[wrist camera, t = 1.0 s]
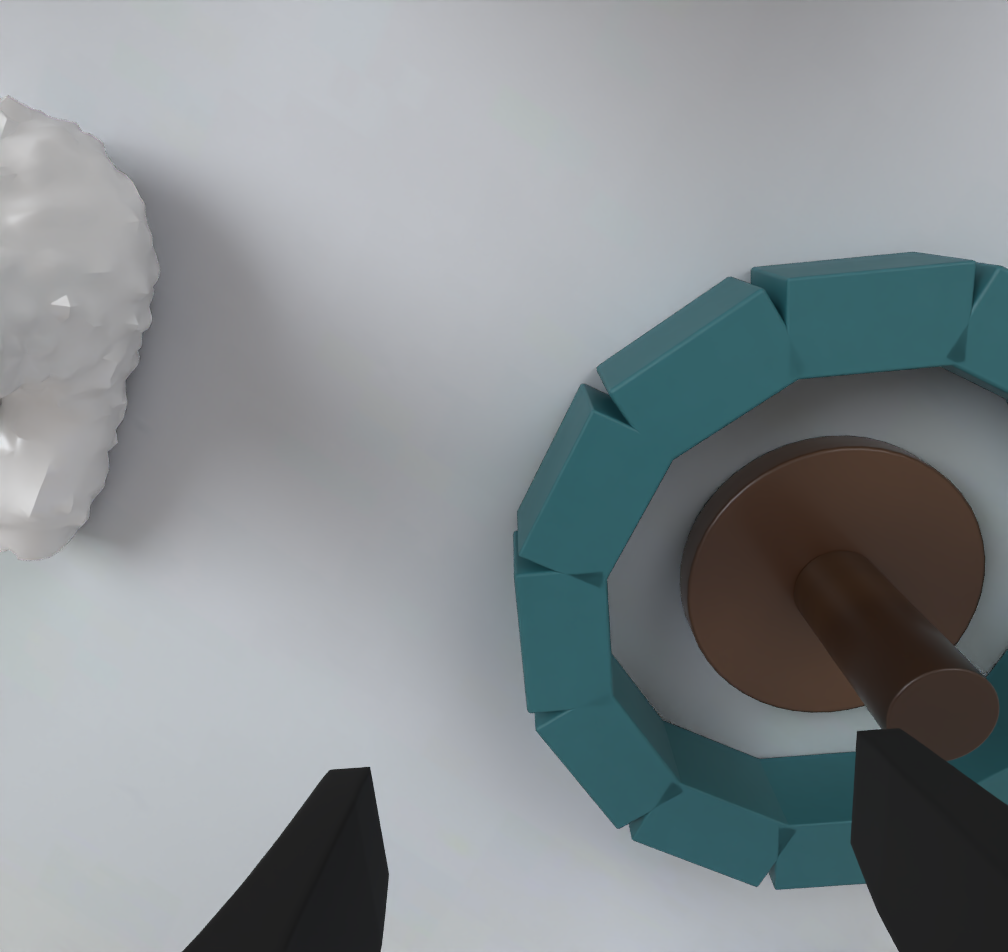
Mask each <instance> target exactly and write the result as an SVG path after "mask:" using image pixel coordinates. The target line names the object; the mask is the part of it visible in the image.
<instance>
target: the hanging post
mask: <svg viewBox="0 0 1008 952" xmlns="http://www.w3.org/2000/svg"><path fill="white" fill-rule="evenodd" d="M984 576H985V553H984V544H983V539H982V535H981V531H980V528H979V524H978V522H977V519H976V517H975V515H974V513H973V511H972V509H971V507H970V505H969V504H968V502H967V501H966V499H965V498H964V496H963V495H962V493H961V492H960V491H959V490H958V489H957V488H956V487H955V486H954V485H953V484H952V482H951V481H950V480H949V479H947V478H946V477H945V476H944V475H942V474H941V473H940V472H938V471H937V470H936V469H935V468H933V467H931V466H930V465H928V464H927V463H925V462H924V461H922V460H921V459H919V458H917V457H916V456H914V455H912V454H910V453H909V452H907V451H905V450H903V449H901V448H899V447H896V446H894V445H891V444H888V443H886V442H883V441H878V440H874V439H870V438H865V437H855V436H825V437H818V438H812V439H806V440H802V441H799V442H795V443H791V444H788V445H785V446H783V447H780V448H778V449H775V450H773V451H771V452H768V453H766V454H765V455H763V456H761V457H759V458H757V459H755V460H754V461H752V462H750V463H749V464H747V465H746V466H745V467H743V468H742V469H740V470H739V471H738V472H736V473H735V474H734V475H733V476H732V477H731V478H729V479H728V480H727V481H726V482H725V483H724V484H723V485H722V486H721V487H720V488H719V489H718V490H717V491H716V492H715V494H714V495H713V496H712V497H711V498H710V499H709V501H708V502H707V503H706V505H705V506H704V508H703V509H702V511H701V512H700V514H699V515H698V517H697V519H696V521H695V523H694V525H693V527H692V529H691V531H690V533H689V536H688V539H687V542H686V545H685V548H684V552H683V557H682V562H681V568H680V591H681V600H682V604H683V608H684V612H685V616H686V618H687V620H688V623H689V625H690V628H691V630H692V632H693V635H694V637H695V639H696V642H697V644H698V647H699V648H700V650H701V651H702V653H703V655H704V656H705V658H706V660H707V661H708V662H709V664H710V665H711V666H712V667H713V668H714V669H715V671H716V672H717V673H718V674H719V675H720V676H721V677H722V678H724V679H725V680H726V681H727V682H728V683H729V684H730V685H732V686H733V687H735V688H736V689H738V690H739V691H741V692H742V693H744V694H746V695H748V696H750V697H752V698H754V699H756V700H758V701H760V702H763V703H766V704H769V705H772V706H775V707H778V708H783V709H787V710H792V711H801V712H835V711H842V710H849V709H853V708H858V707H862V706H866V707H867V709H868V710H869V712H870V713H871V714H872V716H873V717H874V719H875V720H876V722H877V723H878V724H879V726H880V727H881V729H894V728H900V729H901V730H903V731H904V732H906V733H907V734H909V735H910V736H912V737H913V738H915V739H916V740H918V741H919V742H920V743H922V744H923V745H925V746H926V747H927V748H929V749H930V750H932V751H933V752H934V753H936V754H937V755H938V756H940V757H941V758H943V759H944V760H945V761H950V760H954V759H957V758H960V757H962V756H964V755H967V754H968V753H970V752H972V751H973V750H975V749H976V748H977V747H979V746H980V745H981V744H982V743H983V742H984V741H985V740H986V739H987V738H988V737H989V735H990V734H991V733H992V731H993V729H994V727H995V725H996V723H997V720H998V716H999V707H1000V706H999V699H998V696H997V693H996V691H995V689H994V687H993V686H992V684H991V683H990V682H989V681H988V680H987V679H986V678H985V677H984V676H983V675H982V674H981V673H980V672H979V671H978V670H977V669H976V668H975V667H974V666H973V665H972V664H971V663H970V662H969V661H968V660H967V659H966V658H965V657H964V656H963V655H962V654H961V652H960V651H959V650H958V649H957V648H956V647H955V645H956V644H957V642H958V641H959V640H960V638H961V636H962V635H963V633H964V632H965V630H966V629H967V627H968V625H969V623H970V621H971V619H972V617H973V615H974V613H975V611H976V608H977V605H978V602H979V599H980V596H981V592H982V587H983V582H984Z"/></svg>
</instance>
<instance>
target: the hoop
mask: <svg viewBox="0 0 1008 952" xmlns="http://www.w3.org/2000/svg"><path fill="white" fill-rule="evenodd" d="M930 367H942V368H944V369H946V370H948V371H950V372H953V373H955V374H957V375H959V376H961V377H963V378H965V379H967V380H969V381H971V382H973V383H975V384H977V385H979V386H981V387H983V388H985V389H987V390H989V391H991V392H993V393H995V394H997V395H999V396H1001V397H1003V398H1005V399H1006V401H1007V403H1008V269H1007V268H1005V267H1003V266H999V265H992V264H985V263H978V262H975V261H973V260H967V259H960V258H953V257H946V256H939V255H932V254H925V253H917V252H907V253H896V254H886V255H875V256H865V257H854V258H844V259H833V260H823V261H813V262H802V263H792V264H781V265H771V266H760V267H753V268H752V269H751V284H750V283H747V282H744V281H741V280H739V279H736V278H733V277H727V278H726V279H725V280H723V281H722V282H720V283H719V284H717V285H716V286H714V287H713V288H711V289H710V290H708V291H707V292H705V293H704V294H703V295H701V296H700V297H698V298H697V299H695V300H694V301H692V302H691V303H689V304H688V305H686V306H685V307H684V308H682V309H681V310H679V311H678V312H676V313H675V314H673V315H672V316H670V317H669V318H667V319H666V320H664V321H663V322H662V323H660V324H659V325H657V326H656V327H654V328H653V329H651V330H650V331H648V332H647V333H645V334H644V335H643V336H641V337H640V338H638V339H637V340H635V341H634V342H632V343H631V344H629V345H628V346H626V347H625V348H623V349H622V350H621V351H619V352H618V353H616V354H615V355H613V356H612V357H610V358H609V359H607V360H606V361H604V362H603V363H601V364H600V365H599V366H598V367H597V372H598V374H599V376H600V378H601V380H602V382H603V384H604V386H605V388H606V390H607V392H608V394H609V395H608V394H606V393H603V392H601V391H599V390H597V389H595V388H593V387H590V386H588V385H586V384H581V385H580V387H579V389H578V391H577V393H576V395H575V397H574V399H573V401H572V403H571V405H570V407H569V409H568V411H567V413H566V415H565V417H564V419H563V421H562V423H561V425H560V427H559V429H558V431H557V433H556V435H555V437H554V439H553V441H552V443H551V445H550V447H549V449H548V451H547V453H546V455H545V457H544V459H543V461H542V463H541V465H540V467H539V469H538V471H537V473H536V475H535V477H534V479H533V481H532V483H531V485H530V487H529V489H528V491H527V493H526V495H525V497H524V499H523V501H522V503H521V505H520V507H519V509H518V511H517V524H518V531H515V532H514V534H513V548H514V582H515V592H516V602H517V612H518V622H519V632H520V642H521V652H522V662H523V673H524V683H525V693H526V703H527V710H528V712H529V713H535V729H536V731H537V732H538V734H539V735H540V736H541V737H542V739H543V740H544V741H545V742H546V743H547V745H548V746H549V747H550V748H551V749H552V751H553V752H554V753H555V754H556V755H557V757H558V758H559V759H560V760H561V762H562V763H563V764H564V765H565V766H566V768H567V769H568V770H569V771H570V772H571V774H572V775H573V776H574V777H575V778H576V780H577V781H578V782H579V783H580V785H581V786H582V787H583V788H584V789H585V791H586V792H587V793H588V794H589V795H590V797H591V798H592V799H593V800H594V801H595V803H596V804H597V805H598V806H599V808H600V809H601V810H602V811H603V812H604V814H605V815H606V816H607V817H608V818H609V820H610V821H611V822H612V823H613V824H614V826H615V827H616V828H617V829H620V828H622V827H623V826H625V825H627V824H629V827H630V832H631V838H632V840H633V841H636V842H639V843H641V844H644V845H647V846H649V847H652V848H655V849H657V850H660V851H663V852H665V853H668V854H671V855H673V856H676V857H678V858H681V859H684V860H686V861H689V862H692V863H694V864H697V865H700V866H702V867H705V868H708V869H710V870H713V871H716V872H718V873H721V874H724V875H726V876H729V877H731V878H734V879H737V880H739V881H742V882H745V883H747V884H750V885H753V886H755V887H758V886H759V884H760V883H761V882H762V880H763V879H764V877H765V876H766V875H767V873H768V872H769V875H770V877H771V880H772V882H773V885H774V888H775V889H776V890H781V889H795V888H809V887H824V886H838V885H853V884H866V882H865V880H864V877H863V874H862V872H861V869H860V867H859V864H858V861H857V859H856V856H855V854H854V851H853V848H852V846H851V843H850V840H851V823H852V807H853V790H854V774H855V757H856V752H845V753H832V754H818V755H805V756H791V757H778V758H765V759H758V758H755V757H753V756H750V755H748V754H745V753H743V752H740V751H738V750H735V749H733V748H730V747H728V746H725V745H723V744H720V743H718V742H715V741H713V740H710V739H708V738H705V737H703V736H700V735H698V734H695V733H693V732H690V731H688V730H685V729H683V728H680V727H678V726H676V725H673V724H671V723H668V722H666V721H663V720H662V719H661V718H660V716H659V715H658V714H657V712H656V711H655V710H654V708H653V707H652V706H651V705H650V703H649V702H648V701H647V699H646V698H645V697H644V695H643V694H642V693H641V691H640V690H639V689H638V687H637V686H636V685H635V684H634V682H633V681H632V680H631V678H630V677H629V676H628V674H627V673H626V672H625V670H624V669H623V668H622V667H621V665H620V664H619V663H618V661H617V660H616V659H615V657H614V656H613V655H612V653H611V639H610V622H609V605H608V587H607V578H608V576H609V575H610V573H611V571H612V569H613V567H614V566H615V564H616V562H617V560H618V558H619V557H620V555H621V553H622V551H623V549H624V547H625V546H626V544H627V542H628V540H629V538H630V537H631V535H632V533H633V531H634V529H635V528H636V526H637V524H638V522H639V520H640V519H641V517H642V515H643V513H644V511H645V510H646V508H647V506H648V504H649V502H650V501H651V499H652V497H653V495H654V493H655V492H656V490H657V488H658V486H659V484H660V483H661V481H662V479H663V477H664V475H665V474H666V472H667V470H668V468H669V466H670V465H671V463H672V461H673V460H674V459H675V458H677V457H679V456H680V455H682V454H683V453H685V452H686V451H688V450H689V449H691V448H693V447H694V446H696V445H697V444H699V443H700V442H702V441H703V440H705V439H707V438H708V437H710V436H711V435H713V434H714V433H716V432H717V431H719V430H721V429H722V428H724V427H725V426H727V425H728V424H730V423H731V422H733V421H735V420H736V419H738V418H739V417H741V416H742V415H744V414H745V413H747V412H749V411H750V410H752V409H753V408H755V407H756V406H758V405H759V404H761V403H763V402H764V401H766V400H767V399H769V398H770V397H772V396H773V395H775V394H777V393H778V392H780V391H781V390H783V389H784V388H786V387H787V386H789V385H791V384H792V383H794V382H795V381H797V380H798V379H809V378H820V377H831V376H842V375H853V374H864V373H875V372H886V371H897V370H908V369H919V368H930ZM986 679H987V680H988V681H989V682H990V683H991V684H992V686H993V687H994V689H995V691H996V693H997V696H998V699H999V706H1000V707H999V716H998V720H997V723H996V725H995V727H994V729H993V731H992V733H991V734H990V735H989V737H988V738H987V739H986V740H985V741H984V742H983V743H982V744H981V745H980V746H979V747H977V748H976V749H975V750H973V751H972V752H970V753H968V754H967V755H964V756H962V757H960V758H957V759H954V760H950V761H947V762H948V763H949V764H951V765H952V766H954V767H955V768H956V769H958V770H959V771H960V772H962V773H963V774H965V775H966V776H967V777H969V778H970V779H972V780H973V781H974V782H976V783H977V784H979V785H980V786H981V787H983V788H984V789H985V790H987V791H988V792H990V793H991V794H993V795H994V796H995V797H997V798H998V799H1000V800H1001V801H1002V802H1004V803H1005V804H1007V805H1008V649H1007V651H1006V652H1005V653H1004V655H1003V656H1002V657H1001V659H1000V660H999V661H998V663H997V664H996V665H995V666H994V668H993V669H992V670H991V672H990V673H989V674H988V676H987V677H986Z"/></svg>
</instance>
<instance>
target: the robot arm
mask: <svg viewBox="0 0 1008 952" xmlns="http://www.w3.org/2000/svg"><path fill="white" fill-rule="evenodd" d="M850 843H851V846H852V848H853V851H854V854H855V856H856V859H857V861H858V864H859V867H860V869H861V872H862V874H863V877H864V880H865V882H866V884H867V887H868V889H869V892H870V894H871V896H872V899H873V901H874V904H875V906H876V909H877V911H878V913H879V915H880V917H881V919H882V921H883V923H884V925H885V927H886V928H887V930H888V932H889V934H890V936H891V938H892V940H893V942H894V943H895V945H896V947H897V949H898V951H899V952H1008V805H1007V804H1005V803H1004V802H1002V801H1001V800H1000V799H998V798H997V797H995V796H994V795H993V794H991V793H990V792H988V791H987V790H985V789H984V788H983V787H981V786H980V785H979V784H977V783H976V782H974V781H973V780H972V779H970V778H969V777H967V776H966V775H965V774H963V773H962V772H960V771H959V770H958V769H956V768H955V767H954V766H952V765H951V764H949V763H948V762H947V761H945V760H944V759H943V758H941V757H940V756H938V755H937V754H936V753H934V752H933V751H932V750H930V749H929V748H927V747H926V746H925V745H923V744H922V743H920V742H919V741H918V740H916V739H915V738H913V737H912V736H910V735H909V734H907V733H906V732H904V731H903V730H901V729H900V728H894V729H880V730H867V731H857V741H856V757H855V774H854V790H853V807H852V823H851V840H850ZM388 879H389V872H388V866H387V861H386V855H385V849H384V844H383V838H382V832H381V827H380V821H379V815H378V809H377V804H376V798H375V792H374V787H373V781H372V775H371V770H370V767H362V768H348V769H334V770H329V771H328V773H327V774H326V775H325V776H324V777H323V778H322V780H321V781H320V782H319V784H318V785H317V786H316V788H315V789H314V791H313V792H312V793H311V795H310V796H309V797H308V799H307V800H306V802H305V803H304V804H303V806H302V807H301V808H300V810H299V811H298V812H297V814H296V815H295V817H294V818H293V819H292V821H291V822H290V823H289V825H288V826H287V827H286V829H285V830H284V831H283V833H282V834H281V835H280V837H279V838H278V839H277V841H276V842H275V843H274V844H273V846H272V847H271V848H270V849H269V851H268V852H267V853H266V855H265V856H264V857H263V858H262V860H261V861H260V862H259V863H258V865H257V866H256V867H255V868H254V870H253V871H252V872H251V874H250V875H249V876H248V877H247V879H246V880H245V881H244V882H243V883H242V885H241V886H240V887H239V888H238V889H237V891H236V892H235V893H234V894H233V895H232V896H231V898H230V899H229V900H228V901H227V902H226V903H225V904H224V906H223V907H222V908H221V909H220V910H219V911H218V913H217V914H216V915H215V916H214V917H213V918H212V919H211V921H210V922H209V923H208V924H207V925H206V926H205V928H204V929H203V930H202V931H201V932H200V933H199V934H198V935H197V936H196V938H195V939H194V940H193V941H192V942H191V943H190V944H189V945H188V946H187V947H186V948H185V949H184V950H183V951H182V952H380V951H381V947H382V939H383V930H384V921H385V911H386V900H387V890H388Z"/></svg>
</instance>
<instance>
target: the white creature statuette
mask: <svg viewBox="0 0 1008 952" xmlns="http://www.w3.org/2000/svg"><path fill="white" fill-rule="evenodd" d="M159 275H160V266H159V263H158V259H157V255H156V252H155V250H154V247H153V236H152V233H151V231H150V229H149V226H148V222H147V218H146V215H145V203H144V201H143V200H142V199H141V197H140V196H139V193H138V191H137V189H136V187H135V185H134V183H133V182H132V180H131V179H130V178H129V177H128V176H127V175H126V174H125V173H123V172H121V171H119V170H117V169H116V167H115V166H114V165H113V163H112V162H111V160H110V159H109V158H108V156H107V155H106V151H105V147H104V143H103V142H101V141H100V140H99V139H98V138H96V137H95V136H93V135H91V134H90V133H86V132H82V130H81V129H80V127H79V125H78V124H77V123H76V122H72V121H68V120H63V119H57V118H54V117H51V116H48V115H47V114H45V113H44V112H42V111H40V110H36V109H33V108H31V107H29V106H27V105H25V104H23V103H20V102H19V101H17V100H15V99H14V98H12V97H10V96H9V95H8V96H6V97H3V98H1V99H0V552H3V551H7V550H10V551H12V552H13V553H14V554H15V555H16V556H17V558H18V559H19V560H25V561H32V560H41V559H45V558H50V557H51V556H53V555H54V554H56V553H58V552H59V551H60V550H61V549H62V548H63V547H64V546H65V545H66V544H67V543H68V542H69V541H70V540H71V539H72V537H73V536H74V535H75V533H76V532H77V531H78V529H79V528H80V527H82V526H83V525H84V523H85V522H86V521H87V520H88V519H89V518H90V505H91V503H92V502H93V500H94V499H95V498H96V496H97V495H98V494H99V493H100V492H101V491H102V489H103V488H104V487H105V485H106V482H105V480H106V477H107V474H108V472H109V457H108V451H109V450H111V449H112V448H113V447H114V446H115V445H116V444H117V443H118V441H117V435H116V429H117V427H118V426H119V425H120V423H121V422H122V420H123V419H124V415H125V411H126V407H127V403H128V401H127V397H126V379H127V378H128V376H129V375H130V374H131V373H132V371H133V370H134V369H135V368H136V367H137V365H138V364H139V359H140V357H139V353H138V350H139V349H140V348H141V347H142V333H143V332H144V331H146V330H147V329H149V328H150V325H151V322H152V315H151V311H150V303H151V301H152V299H153V296H154V293H155V291H154V287H153V286H154V285H155V283H156V282H157V281H158V279H159Z"/></svg>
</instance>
